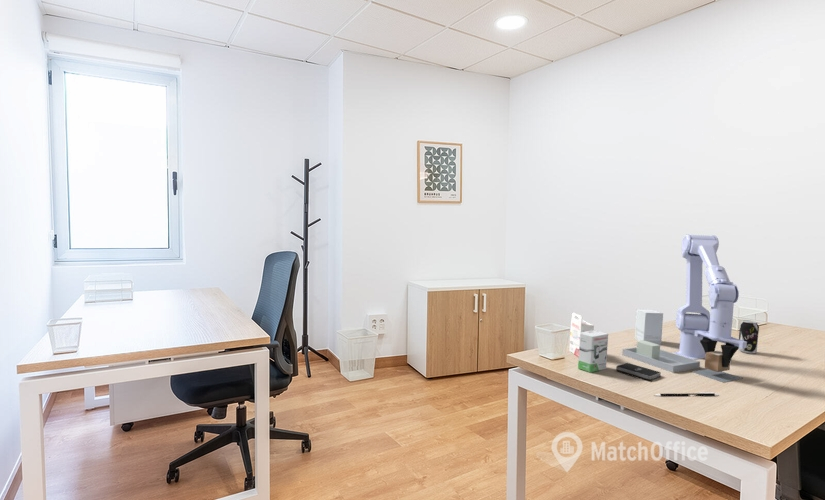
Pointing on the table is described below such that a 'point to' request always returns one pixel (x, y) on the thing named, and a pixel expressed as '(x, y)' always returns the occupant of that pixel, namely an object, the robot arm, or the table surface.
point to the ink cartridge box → (577, 332)
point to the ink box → (593, 351)
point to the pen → (689, 394)
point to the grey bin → (664, 360)
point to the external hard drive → (638, 371)
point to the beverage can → (749, 336)
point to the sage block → (648, 349)
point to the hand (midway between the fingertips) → (717, 364)
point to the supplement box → (649, 326)
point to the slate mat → (717, 375)
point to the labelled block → (715, 361)
